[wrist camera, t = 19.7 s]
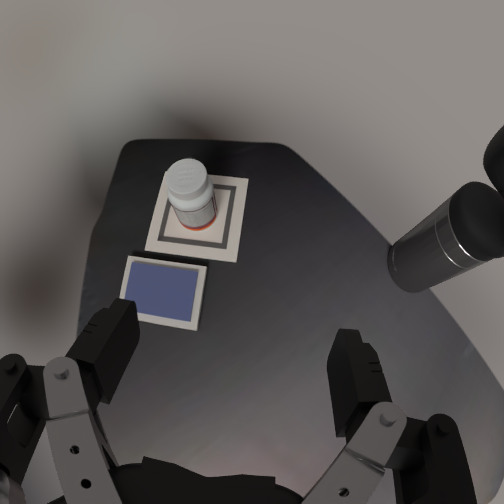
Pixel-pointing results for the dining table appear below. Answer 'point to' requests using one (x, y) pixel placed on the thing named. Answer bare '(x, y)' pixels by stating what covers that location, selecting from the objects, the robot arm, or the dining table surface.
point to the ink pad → (165, 291)
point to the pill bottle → (191, 194)
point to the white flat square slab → (209, 240)
